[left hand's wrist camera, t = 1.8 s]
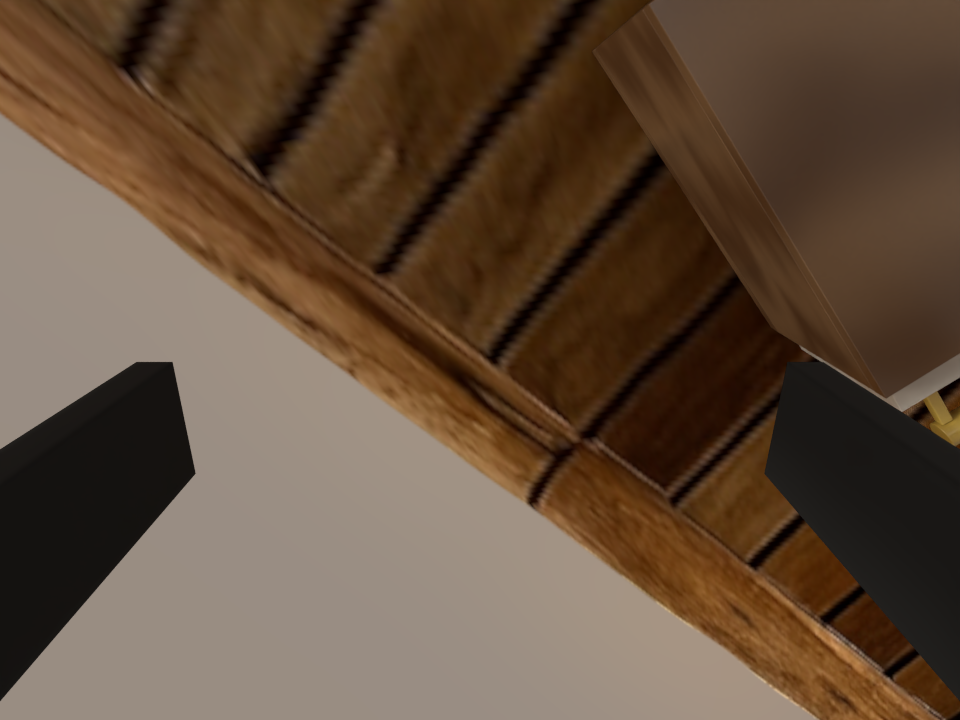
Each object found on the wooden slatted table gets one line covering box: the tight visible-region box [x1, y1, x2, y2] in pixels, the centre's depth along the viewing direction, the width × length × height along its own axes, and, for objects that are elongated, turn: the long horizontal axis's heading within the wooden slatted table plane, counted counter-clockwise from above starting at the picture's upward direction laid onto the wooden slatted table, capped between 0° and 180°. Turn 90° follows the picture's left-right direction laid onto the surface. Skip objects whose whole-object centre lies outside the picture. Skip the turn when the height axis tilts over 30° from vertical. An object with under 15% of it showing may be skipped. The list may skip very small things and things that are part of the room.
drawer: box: [799, 345, 960, 446], centre depth 28 cm, size 25×9×9 cm, turn 39°
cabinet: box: [592, 0, 960, 398], centre depth 27 cm, size 20×10×11 cm, turn 39°
